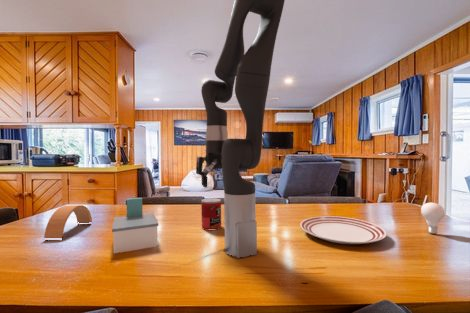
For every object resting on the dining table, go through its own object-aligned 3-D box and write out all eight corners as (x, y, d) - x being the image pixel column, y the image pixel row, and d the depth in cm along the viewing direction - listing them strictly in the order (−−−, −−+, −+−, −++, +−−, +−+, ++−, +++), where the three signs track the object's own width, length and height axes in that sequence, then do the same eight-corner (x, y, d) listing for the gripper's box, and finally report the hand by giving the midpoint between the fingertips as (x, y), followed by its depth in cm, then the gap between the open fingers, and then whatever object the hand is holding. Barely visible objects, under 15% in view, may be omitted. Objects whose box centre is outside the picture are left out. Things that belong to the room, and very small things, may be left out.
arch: (43, 241, 80) (43, 212, 80) (78, 224, 100) (78, 201, 100) (61, 241, 80) (60, 211, 80) (92, 224, 100) (92, 200, 100)
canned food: (212, 231, 87) (211, 202, 87) (197, 228, 92) (197, 200, 92) (225, 226, 93) (225, 199, 93) (210, 223, 98) (210, 197, 98)
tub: (157, 248, 72) (157, 225, 72) (113, 256, 67) (113, 231, 67) (152, 235, 84) (152, 215, 84) (115, 240, 79) (115, 219, 79)
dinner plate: (403, 253, 66) (403, 242, 66) (303, 247, 72) (303, 236, 72) (368, 225, 93) (368, 217, 93) (298, 222, 99) (297, 214, 99)
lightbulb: (449, 237, 78) (449, 204, 78) (427, 236, 80) (427, 204, 80) (437, 231, 85) (436, 201, 85) (417, 230, 86) (416, 200, 86)
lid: (158, 229, 72) (158, 203, 72) (112, 236, 66) (111, 208, 66) (153, 218, 85) (153, 196, 85) (114, 223, 80) (114, 199, 80)
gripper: (201, 138, 74) (201, 189, 75) (240, 139, 81) (239, 186, 82) (193, 139, 81) (193, 186, 81) (230, 140, 88) (229, 183, 88)
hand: (216, 186), depth 81 cm, fingers open, 8 cm apart
